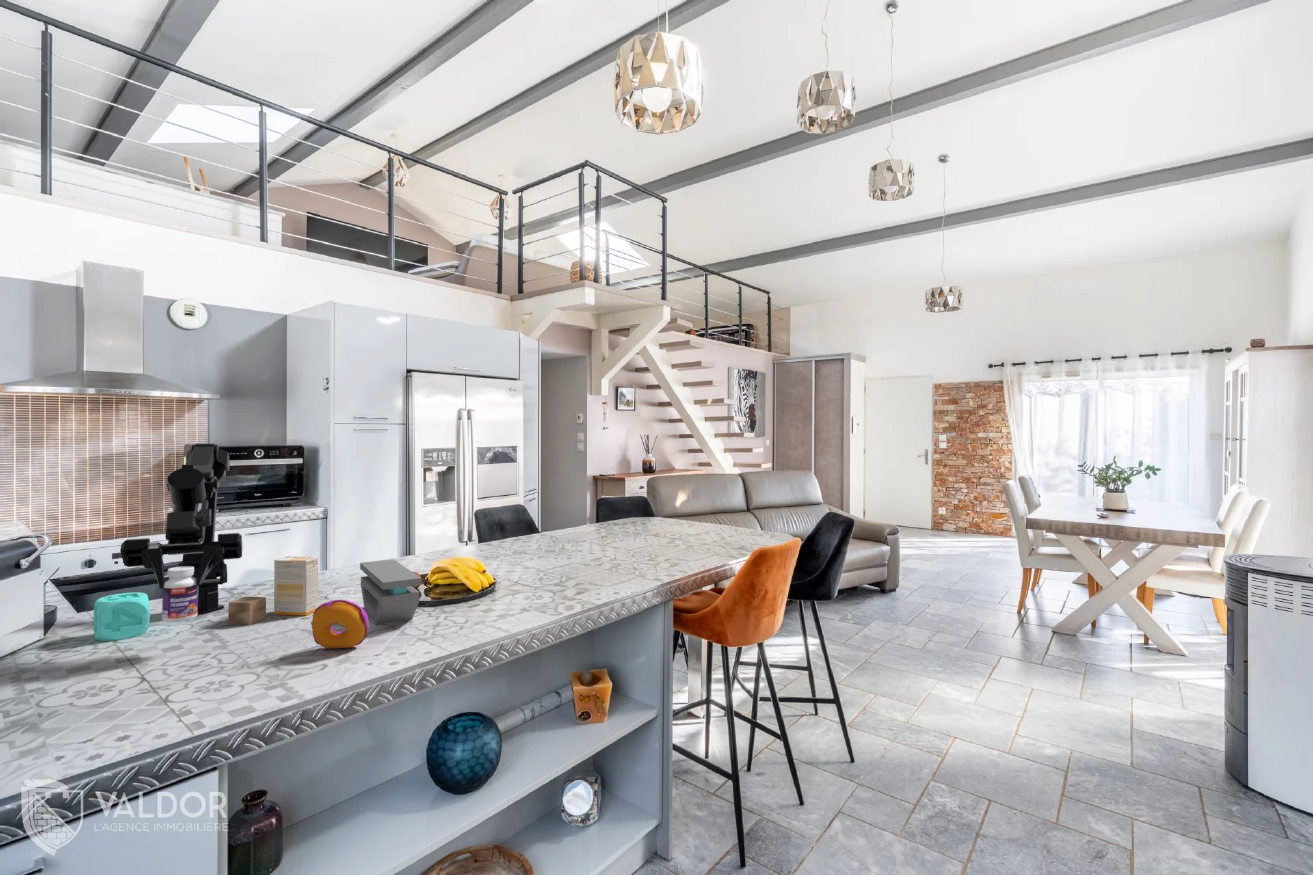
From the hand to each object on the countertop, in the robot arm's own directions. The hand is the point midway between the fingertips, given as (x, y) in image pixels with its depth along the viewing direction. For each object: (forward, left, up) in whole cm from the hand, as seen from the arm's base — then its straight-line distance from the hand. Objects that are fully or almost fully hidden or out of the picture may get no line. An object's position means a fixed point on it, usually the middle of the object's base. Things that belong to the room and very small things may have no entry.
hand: (179, 585), depth 114 cm
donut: (+26, +13, -13) cm, 32 cm away
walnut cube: (-8, +19, -13) cm, 25 cm away
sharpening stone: (+18, +34, -14) cm, 41 cm away
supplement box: (-4, +28, -13) cm, 32 cm away
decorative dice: (-23, +3, -14) cm, 27 cm away
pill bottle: (-1, +1, -7) cm, 7 cm away
